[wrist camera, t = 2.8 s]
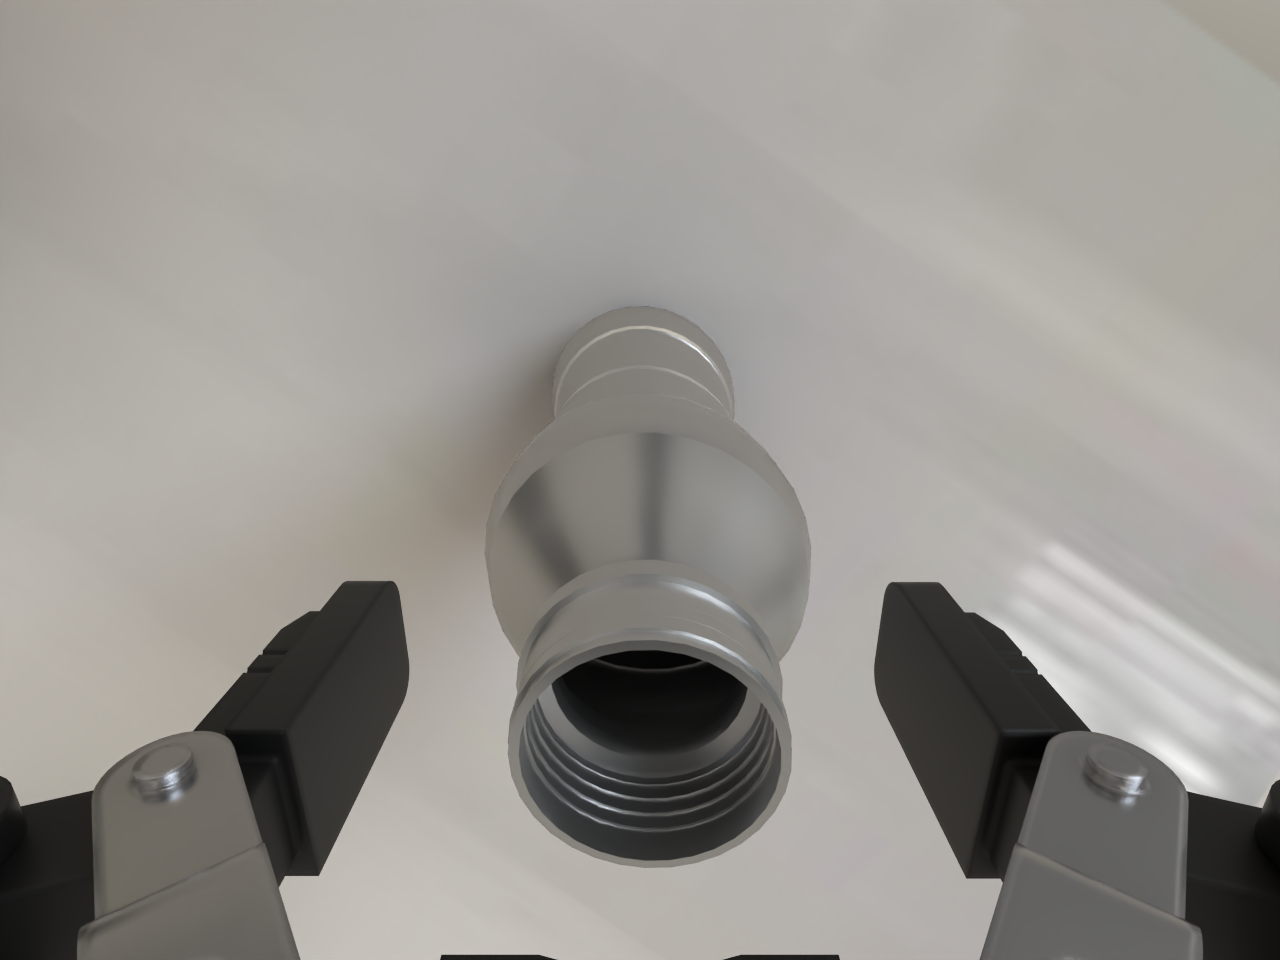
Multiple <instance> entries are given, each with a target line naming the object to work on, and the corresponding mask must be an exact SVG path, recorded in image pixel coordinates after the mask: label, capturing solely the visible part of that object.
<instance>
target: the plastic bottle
mask: <svg viewBox="0 0 1280 960" xmlns="http://www.w3.org/2000/svg"><path fill="white" fill-rule="evenodd" d="M552 408H553V417H554V421H552V422H551V423H550V424H549V425H548V426H547V427H546V428H545V429H544V430H543V431H541V432H540V433H539V434H538V435H537V436H536V437H535V438H534V439H533V440H532V442H531V443H530V444H529V445H528V446H527V447H526V448H525V450H524V451H523V452H522V453H521V454H520V455H519V457H518V458H517V460H516V461H515V463H514V464H513V465H512V467H511V468H510V469H509V471H508V473H507V475H506V477H505V479H504V480H503V482H502V484H501V486H500V488H499V489H498V491H497V493H496V495H495V497H494V501H493V504H492V508H491V511H490V515H489V518H488V522H487V527H486V543H485V558H486V564H487V571H488V577H489V584H490V590H491V596H492V602H493V607H494V609H495V612H496V615H497V617H498V620H499V622H500V625H501V628H502V630H503V632H504V634H505V636H506V637H507V639H508V640H509V642H510V643H511V645H512V647H513V648H514V650H515V651H516V653H517V655H518V656H519V657H520V659H519V662H518V672H517V684H516V686H517V696H516V700H515V703H514V707H513V711H512V714H511V718H510V724H509V737H508V745H509V747H508V757H509V764H510V770H511V776H512V778H513V781H514V783H515V786H516V788H517V790H518V793H519V795H520V798H521V799H522V800H523V802H524V803H525V805H526V806H527V808H528V809H529V810H530V812H531V813H532V815H533V816H534V817H535V818H536V819H537V820H538V821H539V822H540V823H541V824H542V825H543V826H544V827H545V828H546V829H547V830H548V831H549V832H550V833H551V834H553V835H554V836H556V837H557V838H559V839H560V840H562V841H563V842H565V843H566V844H568V845H569V846H571V847H573V848H575V849H577V850H579V851H581V852H584V853H586V854H588V855H590V856H592V857H595V858H598V859H602V860H605V861H609V862H612V863H616V864H620V865H628V866H635V867H643V868H656V867H675V866H681V865H687V864H693V863H697V862H700V861H703V860H706V859H709V858H712V857H715V856H718V855H721V854H723V853H724V852H726V851H728V850H730V849H732V848H734V847H736V846H738V845H740V844H741V843H743V842H744V841H745V840H746V839H748V838H749V837H750V836H752V835H753V834H754V833H755V832H757V831H758V830H759V829H760V828H761V827H762V826H763V825H764V824H765V822H766V821H767V820H768V819H769V818H770V817H771V815H772V814H773V813H774V812H775V810H776V808H777V807H778V805H779V803H780V801H781V799H782V797H783V796H784V794H785V791H786V788H787V784H788V781H789V777H790V773H791V757H792V748H791V732H790V728H789V723H788V719H787V714H786V711H785V708H784V704H783V701H782V675H781V671H780V666H779V662H780V661H781V659H782V658H783V657H784V656H785V654H786V653H787V652H788V651H789V649H790V647H791V645H792V643H793V641H794V639H795V637H796V635H797V633H798V631H799V629H800V627H801V624H802V620H803V616H804V612H805V608H806V604H807V601H808V593H809V583H810V566H811V543H810V538H809V533H808V527H807V522H806V517H805V515H804V512H803V510H802V507H801V505H800V503H799V500H798V498H797V496H796V493H795V491H794V489H793V487H792V486H791V484H790V483H789V482H788V480H787V479H786V477H785V476H784V474H783V473H782V471H781V470H780V469H779V467H778V466H777V464H776V463H775V462H774V460H773V459H772V458H771V457H770V455H769V454H768V453H767V451H766V450H765V449H764V448H763V447H762V446H761V445H760V444H759V443H758V442H757V441H756V440H755V439H754V438H753V437H752V436H751V435H750V434H748V433H747V432H746V431H745V430H744V429H743V428H742V427H740V426H739V425H738V424H737V423H736V422H735V421H734V388H733V384H732V379H731V374H730V371H729V369H728V366H727V364H726V362H725V359H724V357H723V355H722V353H721V352H720V351H719V349H718V348H717V346H716V345H715V343H714V342H713V340H712V339H711V338H710V337H709V336H708V335H707V334H706V333H705V332H704V331H702V330H701V329H700V328H699V327H698V326H697V325H695V324H694V323H692V322H690V321H689V320H687V319H686V318H684V317H683V316H680V315H678V314H675V313H673V312H670V311H667V310H664V309H659V308H653V307H648V306H643V307H626V308H621V309H617V310H613V311H609V312H607V313H605V314H603V315H601V316H599V317H597V318H595V319H593V320H592V321H590V322H589V323H588V324H586V325H585V326H584V327H582V328H581V329H580V330H579V331H578V332H577V333H576V334H575V335H574V337H573V338H572V339H571V340H570V341H569V342H568V344H567V345H566V347H565V349H564V351H563V352H562V354H561V356H560V358H559V360H558V363H557V367H556V370H555V373H554V377H553V387H552Z"/></svg>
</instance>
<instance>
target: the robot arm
mask: <svg viewBox="0 0 1280 960" xmlns="http://www.w3.org/2000/svg"><path fill="white" fill-rule="evenodd" d="M874 677H875V686H876V691H877V695H878V698H879V701H880V704H881V706H882V708H883V710H884V712H885V714H886V716H887V718H888V720H889V722H890V724H891V726H892V728H893V730H894V732H895V734H896V736H897V738H898V740H899V742H900V744H901V746H902V748H903V750H904V753H905V755H906V757H907V759H908V761H909V763H910V765H911V767H912V769H913V771H914V773H915V775H916V777H917V779H918V781H919V783H920V785H921V787H922V789H923V791H924V793H925V795H926V797H927V799H928V801H929V803H930V805H931V807H932V809H933V811H934V813H935V816H936V818H937V820H938V822H939V824H940V826H941V828H942V830H943V832H944V834H945V836H946V838H947V840H948V842H949V844H950V846H951V848H952V850H953V852H954V854H955V856H956V858H957V860H958V862H959V864H960V866H961V868H962V870H963V872H964V874H965V876H966V878H1001V880H1002V882H1003V885H1002V888H1001V891H1000V894H999V898H998V901H997V904H996V908H995V911H994V914H993V917H992V921H991V924H990V927H989V931H988V934H987V937H986V940H985V944H984V947H983V950H982V954H981V957H980V960H1280V780H1278V781H1276V782H1275V783H1274V784H1273V785H1272V787H1271V789H1270V791H1269V794H1268V796H1267V799H1266V801H1265V803H1264V806H1263V808H1258V807H1254V806H1249V805H1245V804H1240V803H1236V802H1231V801H1227V800H1222V799H1218V798H1213V797H1209V796H1204V795H1200V794H1195V793H1192V792H1188V791H1186V789H1185V787H1184V785H1183V783H1182V782H1181V780H1180V779H1179V778H1178V777H1177V775H1176V774H1175V773H1174V772H1173V771H1172V770H1171V769H1170V768H1169V767H1167V766H1166V765H1165V764H1164V763H1163V762H1161V761H1160V760H1159V759H1157V758H1156V757H1154V756H1153V755H1151V754H1150V753H1148V752H1146V751H1145V750H1143V749H1141V748H1139V747H1137V746H1135V745H1133V744H1131V743H1128V742H1126V741H1124V740H1121V739H1118V738H1115V737H1112V736H1109V735H1105V734H1100V733H1096V732H1091V731H1090V729H1089V728H1088V727H1087V726H1086V725H1085V724H1084V723H1083V721H1082V720H1081V719H1080V718H1079V717H1078V716H1077V715H1076V713H1075V712H1074V711H1073V710H1072V709H1071V708H1070V707H1069V705H1068V704H1067V703H1066V702H1065V701H1064V700H1063V699H1062V697H1061V696H1060V695H1059V694H1058V693H1057V692H1056V690H1055V689H1054V688H1053V687H1052V686H1051V685H1050V684H1049V682H1048V681H1047V680H1046V679H1045V678H1044V677H1043V676H1042V675H1038V672H1037V669H1036V668H1035V666H1034V665H1033V664H1032V663H1031V662H1030V661H1029V660H1028V658H1027V657H1026V656H1022V652H1021V650H1020V649H1019V648H1018V647H1017V646H1016V645H1015V644H1014V642H1013V641H1012V640H1011V639H1010V638H1009V637H1008V636H1007V634H1006V633H1005V632H1004V631H1003V630H1001V629H1000V628H998V627H997V626H995V625H993V624H992V623H990V622H989V621H987V620H985V619H984V618H982V617H981V616H979V615H977V614H976V613H964V611H963V610H962V609H961V608H960V606H959V605H958V604H957V603H956V601H955V600H954V599H953V598H952V597H951V595H950V594H949V593H948V592H947V590H946V589H945V588H944V587H943V586H942V585H941V584H940V583H938V582H891V583H890V584H889V585H888V586H887V588H886V591H885V595H884V600H883V607H882V615H881V622H880V629H879V636H878V643H877V650H876V657H875V665H874ZM408 681H409V659H408V652H407V644H406V637H405V630H404V623H403V616H402V609H401V602H400V595H399V591H398V588H397V585H396V584H395V583H394V582H393V581H346V582H344V583H343V584H342V585H341V586H340V587H339V588H338V589H337V591H336V592H335V593H334V594H333V596H332V597H331V598H330V599H329V601H328V602H327V603H326V604H325V606H324V607H323V608H322V609H321V610H320V611H310V612H308V613H306V614H305V615H303V616H302V617H300V618H298V619H297V620H295V621H294V622H292V623H291V624H289V625H287V626H286V627H284V628H283V629H281V630H280V631H279V632H278V634H277V635H276V636H275V637H274V638H273V639H272V641H271V642H270V643H269V644H268V645H267V646H266V647H265V649H264V650H263V654H262V655H259V656H258V657H257V658H256V659H255V660H254V661H253V662H252V664H251V665H250V666H249V667H248V671H247V673H243V674H242V675H241V676H240V677H239V679H238V680H237V681H236V682H235V683H234V684H233V686H232V687H231V688H230V689H229V690H228V691H227V693H226V694H225V695H224V696H223V697H222V698H221V699H220V701H219V702H218V703H217V704H216V705H215V706H214V708H213V709H212V710H211V711H210V712H209V713H208V714H207V716H206V717H205V718H204V719H203V720H202V721H201V723H200V724H199V725H198V726H197V727H196V728H195V729H194V731H192V732H184V733H180V734H175V735H171V736H168V737H165V738H162V739H159V740H156V741H154V742H152V743H149V744H147V745H145V746H143V747H141V748H139V749H137V750H135V751H134V752H132V753H130V754H129V755H127V756H126V757H124V758H123V759H121V760H120V761H119V762H117V763H116V764H115V765H114V766H113V767H111V768H110V769H109V770H108V771H107V772H106V773H105V774H104V775H103V777H102V778H101V779H100V780H99V782H98V783H97V785H96V787H95V789H94V790H93V791H89V792H84V793H80V794H75V795H71V796H66V797H62V798H57V799H53V800H48V801H44V802H39V803H35V804H30V805H26V806H20V804H19V802H18V799H17V797H16V794H15V792H14V790H13V787H12V785H11V783H10V782H9V781H8V780H7V779H6V778H4V777H1V776H0V960H300V957H299V954H298V950H297V947H296V944H295V940H294V937H293V934H292V931H291V927H290V924H289V921H288V917H287V914H286V911H285V908H284V904H283V901H282V898H281V894H280V891H279V886H280V884H281V882H282V881H283V879H284V877H285V876H319V874H320V872H321V870H322V868H323V866H324V864H325V862H326V860H327V858H328V856H329V854H330V852H331V850H332V848H333V846H334V843H335V841H336V839H337V837H338V835H339V833H340V831H341V829H342V827H343V825H344V823H345V821H346V819H347V817H348V815H349V813H350V811H351V808H352V806H353V804H354V802H355V800H356V798H357V796H358V794H359V792H360V790H361V788H362V786H363V784H364V782H365V780H366V778H367V776H368V774H369V771H370V769H371V767H372V765H373V763H374V761H375V759H376V757H377V755H378V753H379V751H380V749H381V747H382V745H383V743H384V741H385V739H386V736H387V734H388V732H389V730H390V728H391V726H392V724H393V722H394V720H395V718H396V716H397V714H398V712H399V710H400V708H401V706H402V704H403V701H404V699H405V696H406V692H407V687H408ZM440 960H556V959H552V958H549V957H545V956H541V955H441V959H440ZM724 960H840V959H839V955H739V956H735V957H731V958H728V959H724Z"/></svg>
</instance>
